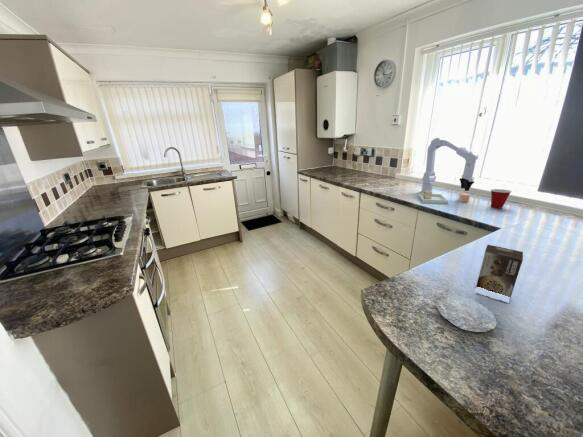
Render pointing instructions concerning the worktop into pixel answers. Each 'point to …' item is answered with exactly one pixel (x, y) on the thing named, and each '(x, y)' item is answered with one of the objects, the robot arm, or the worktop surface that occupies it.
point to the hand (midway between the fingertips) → (464, 189)
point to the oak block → (427, 194)
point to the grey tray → (433, 199)
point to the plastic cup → (499, 197)
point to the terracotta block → (464, 197)
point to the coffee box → (500, 270)
